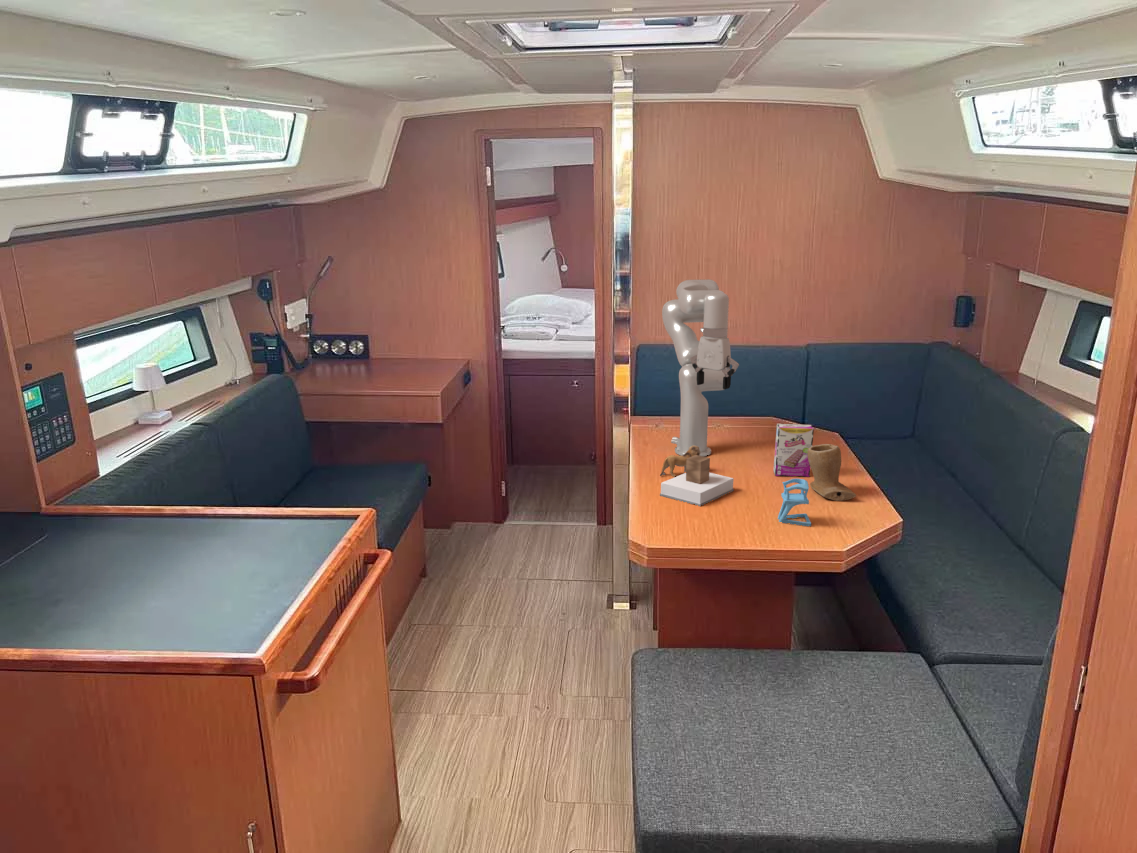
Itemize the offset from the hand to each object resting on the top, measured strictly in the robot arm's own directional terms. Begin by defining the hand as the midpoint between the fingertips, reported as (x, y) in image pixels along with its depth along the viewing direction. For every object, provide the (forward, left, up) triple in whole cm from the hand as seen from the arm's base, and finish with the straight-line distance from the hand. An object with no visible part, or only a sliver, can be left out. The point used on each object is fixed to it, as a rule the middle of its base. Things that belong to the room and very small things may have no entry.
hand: (713, 386), depth 273 cm
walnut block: (+9, -21, -24) cm, 33 cm away
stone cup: (+39, +4, -29) cm, 49 cm away
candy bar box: (+22, +14, -28) cm, 39 cm away
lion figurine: (-6, -9, -29) cm, 30 cm away
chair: (+42, -23, -28) cm, 56 cm away
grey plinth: (+9, -21, -28) cm, 36 cm away
